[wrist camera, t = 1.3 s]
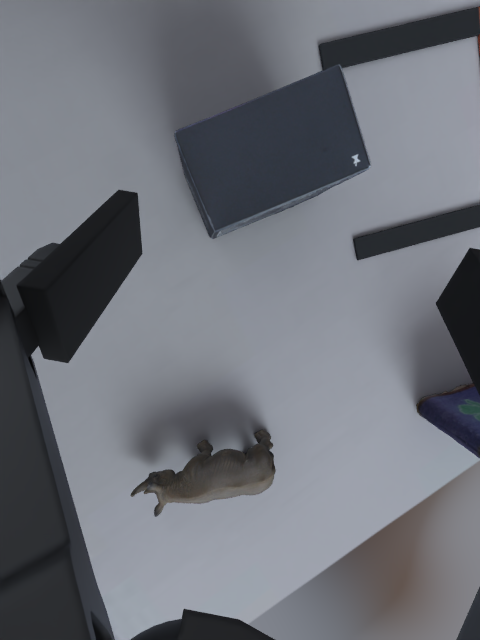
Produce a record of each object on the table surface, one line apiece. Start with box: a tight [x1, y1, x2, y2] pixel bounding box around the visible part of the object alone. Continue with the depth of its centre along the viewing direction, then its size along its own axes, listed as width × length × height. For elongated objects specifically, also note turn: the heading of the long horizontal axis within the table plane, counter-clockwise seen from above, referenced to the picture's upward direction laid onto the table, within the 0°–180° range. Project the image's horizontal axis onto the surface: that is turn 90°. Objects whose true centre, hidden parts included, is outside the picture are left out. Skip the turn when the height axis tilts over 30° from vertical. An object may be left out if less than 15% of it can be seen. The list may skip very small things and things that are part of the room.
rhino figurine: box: [131, 430, 275, 517], centre depth 32 cm, size 4×14×6 cm, turn 100°
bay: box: [319, 7, 480, 260], centre depth 31 cm, size 18×16×1 cm
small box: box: [174, 65, 371, 239], centre depth 25 cm, size 11×6×10 cm, turn 112°
